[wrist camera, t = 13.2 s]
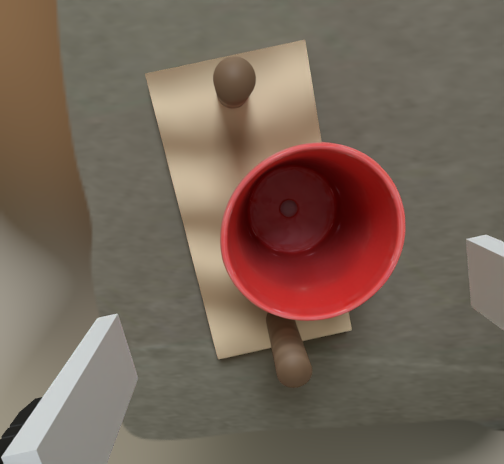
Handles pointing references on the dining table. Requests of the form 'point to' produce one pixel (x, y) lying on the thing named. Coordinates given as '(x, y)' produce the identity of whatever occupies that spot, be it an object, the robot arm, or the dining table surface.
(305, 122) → the rack
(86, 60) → the dining table surface
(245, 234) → the flower pot
